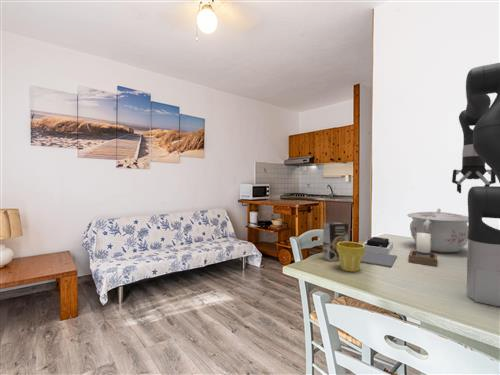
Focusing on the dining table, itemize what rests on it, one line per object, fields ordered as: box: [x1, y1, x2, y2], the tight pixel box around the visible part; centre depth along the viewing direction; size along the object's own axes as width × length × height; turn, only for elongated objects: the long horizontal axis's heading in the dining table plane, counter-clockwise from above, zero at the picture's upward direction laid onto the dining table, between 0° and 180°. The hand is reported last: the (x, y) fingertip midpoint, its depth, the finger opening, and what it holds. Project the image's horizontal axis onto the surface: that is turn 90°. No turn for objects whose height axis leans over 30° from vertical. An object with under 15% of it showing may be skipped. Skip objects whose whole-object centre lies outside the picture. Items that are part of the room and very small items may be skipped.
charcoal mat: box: [360, 251, 398, 268], centre depth 118 cm, size 18×16×1 cm
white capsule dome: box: [415, 233, 432, 258], centre depth 114 cm, size 5×5×12 cm
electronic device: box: [366, 236, 390, 248], centre depth 135 cm, size 7×11×5 cm
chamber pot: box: [406, 208, 468, 254], centre depth 134 cm, size 28×28×21 cm
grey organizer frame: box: [362, 238, 394, 255], centre depth 135 cm, size 16×12×2 cm
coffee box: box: [322, 221, 349, 262], centre depth 118 cm, size 9×6×16 cm
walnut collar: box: [408, 249, 438, 267], centre depth 114 cm, size 10×10×3 cm
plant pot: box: [337, 241, 365, 273], centre depth 105 cm, size 10×10×10 cm
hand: (472, 193), depth 114 cm, fingers open, 8 cm apart
